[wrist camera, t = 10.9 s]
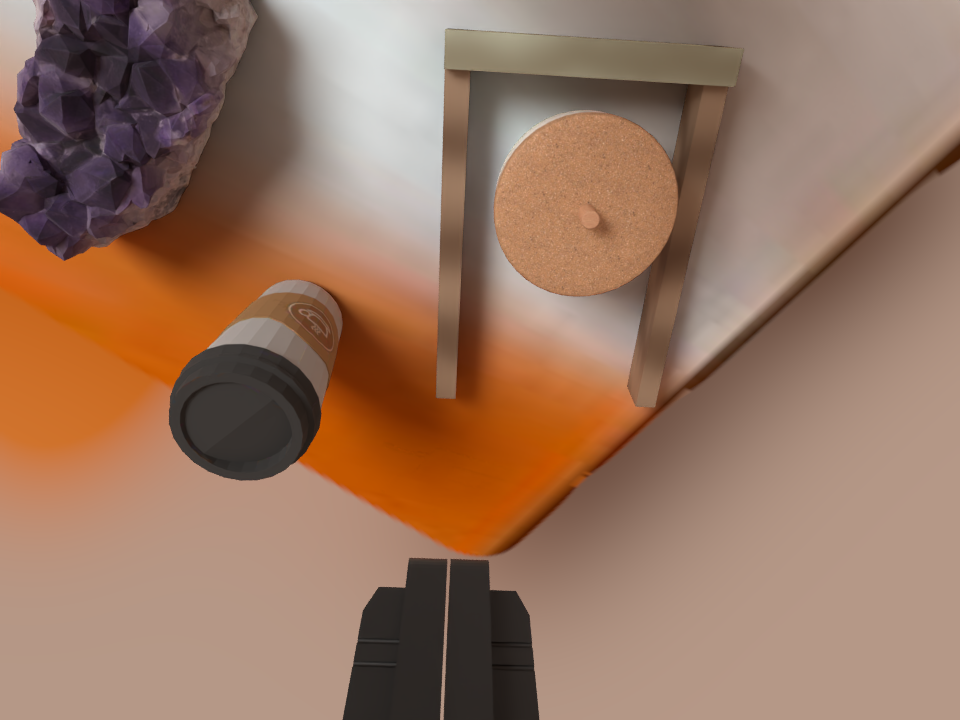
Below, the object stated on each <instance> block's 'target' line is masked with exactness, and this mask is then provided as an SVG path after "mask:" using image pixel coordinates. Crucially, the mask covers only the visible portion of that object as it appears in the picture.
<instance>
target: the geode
mask: <svg viewBox="0 0 960 720" xmlns="http://www.w3.org/2000/svg"><path fill="white" fill-rule="evenodd" d="M33 2H34V4H35V6H36V19H35V22H34V29H35V32H36V34H37V40H36V43H37V50H36V51H35V56H34V57H32V58H30V59H28V60H26V61H25V67H24V69H22V70H21V71H20V72H19V73H18V74H17V102H16V105H15V107H14V111H15V113H16V115H17V121H18V127H19V132H20V135H21V136H22V137H23V139H21V140H18V141H16V142H14V143H12V147H11V150H8V151H5V152H2V157H1V170H0V212H1V213H3V214H4V215H6V216H8V217H10V218H11V219H13V220H14V221H16V222H17V223H18V224H20V225H21V226H22V227H23V229H24V230H25V231H26V232H27V233H28V234H29V235H30V236H32V237H33V238H34V239H35V240H36V241H37V242H38V243H39V244H40V245H46V247H47V249H48V250H49V251H50V252H52V253H53V254H55V255H56V256H58V257H59V258H61V259H62V260H64V261H65V260H67V259H69V258H71V257H73V256H76V255H78V254H80V253H84V252H85V251H87V250H88V249H89V248H90V247H91V246H92V247H106V246H108V245H109V244H110V243H112V242H113V241H114V240H115V239H117V238H118V237H119V236H121V235H124V234H126V233H128V232H132V231H134V230H137V229H141V228H143V227H145V226H148V225H149V223H150V222H151V221H152V220H156V219H159V218H161V217H163V216H165V215H167V214H169V213H170V212H172V211H174V209H175V208H176V206H177V205H178V203H179V200H180V197H181V195H182V193H183V192H184V191H185V189H186V188H187V186H188V185H189V181H190V177H191V174H192V170H193V169H196V166H195V165H196V164H197V163H198V161H199V157H200V155H201V154H202V151H203V149H204V147H205V145H206V144H207V141H208V139H209V137H210V134H211V126H212V123H213V122H214V121H215V120H216V119H217V118H218V116H219V112H220V111H221V109H222V107H223V104H224V100H225V88H226V83H227V82H228V81H229V79H230V78H231V77H232V76H233V75H234V73H235V71H236V68H237V66H238V63H239V61H240V59H241V57H242V55H243V52H244V51H245V49H246V45H247V40H248V37H249V33H250V31H251V29H252V27H253V25H254V23H255V22H256V20H257V18H258V16H257V14H256V12H255V10H254V8H253V6H252V4H251V2H250V0H33Z"/></svg>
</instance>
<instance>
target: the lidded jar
mask: <svg viewBox="0 0 960 720" xmlns="http://www.w3.org/2000/svg"><path fill="white" fill-rule="evenodd" d="M677 208H678V185H677V180H676V176H675V171H674V169H673V166H672V164H671V161H670V159H669V157H668V156H667V154H666V152H665V151H664V149H663V148H662V146H661V145H660V144H659V143H658V142H657V140H656V139H655V138H654V137H653V136H652V135H651V134H649V133H648V132H647V131H645V130H644V129H643V128H642V127H640V126H639V125H637V124H635V123H633V122H631V121H629V120H627V119H625V118H622V117H619V116H616V115H613V114H608V113H605V112H601V111H593V110H578V111H569V112H565V113H560V114H557V115H555V116H552V117H549V118H547V119H545V120H543V121H542V122H540V123H538V124H537V125H535V126H534V127H532V128H531V129H530V130H529V131H527V132H526V133H525V134H524V135H523V136H522V137H521V138H520V139H519V140H518V141H517V143H516V144H515V145H514V147H513V148H512V150H511V151H510V153H509V154H508V156H507V158H506V160H505V162H504V164H503V166H502V168H501V171H500V174H499V178H498V181H497V186H496V192H495V199H494V223H495V228H496V233H497V237H498V240H499V243H500V246H501V248H502V250H503V252H504V254H505V256H506V257H507V259H508V261H509V262H510V263H511V264H512V266H513V267H514V268H515V269H516V271H517V272H519V273H520V274H521V275H522V276H523V277H524V278H525V279H526V280H528V281H530V282H531V283H533V284H534V285H536V286H537V287H540V288H542V289H544V290H547V291H549V292H552V293H556V294H560V295H566V296H591V295H597V294H602V293H605V292H608V291H611V290H614V289H616V288H618V287H620V286H622V285H624V284H626V283H628V282H630V281H631V280H633V279H634V278H636V277H637V276H639V275H640V274H641V273H642V272H643V271H644V270H645V269H647V268H648V267H649V266H650V265H651V264H652V262H653V261H654V260H655V259H656V258H657V256H658V255H659V254H660V252H661V251H662V249H663V248H664V246H665V244H666V243H667V241H668V239H669V236H670V234H671V232H672V230H673V226H674V223H675V219H676V215H677Z"/></svg>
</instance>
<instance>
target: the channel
mask: <svg viewBox="0 0 960 720" xmlns="http://www.w3.org/2000/svg"><path fill="white" fill-rule="evenodd" d="M743 51H744V49H742V48H732V47H723V46H709V45H694V44H679V43H663V42H648V41H632V40H617V39H601V38H586V37H571V36H555V35H540V34H524V33H509V32H493V31H478V30H462V29H445V60H444V69H445V84H444V121H443V158H442V195H441V231H440V268H439V305H438V342H437V378H436V398H448V399H456V377H457V355H458V333H459V311H460V289H461V267H462V245H463V222H464V200H465V178H466V156H467V134H468V112H469V90H470V70H472V71H488V72H504V73H520V74H536V75H552V76H568V77H584V78H600V79H616V80H632V81H648V82H664V83H680V84H688V87H687V92H686V97H685V102H684V107H683V112H682V117H681V122H680V126H679V131H678V136H677V141H676V146H675V151H674V156H673V161H672V166H673V169H674V171H675V176H676V180H677V185H678V208H677V215H676V219H675V223H674V226H673V230H672V232H671V234H670V236H669V239H668V241H667V243H666V244H665V246H664V248H663V249H662V251H661V252H660V254H659V255H658V256H657V258H656V259H655V260H654V261H653V262H652V266H651V271H650V276H649V281H648V286H647V291H646V296H645V301H644V306H643V311H642V316H641V321H640V326H639V331H638V336H637V341H636V346H635V351H634V356H633V361H632V365H631V370H630V375H629V380H628V385H627V387H628V389H629V392H630V394H631V397H632V399H633V401H634V404H635V406H636V407H655V404H656V400H657V396H658V391H659V387H660V383H661V378H662V374H663V370H664V365H665V361H666V357H667V352H668V348H669V344H670V339H671V335H672V331H673V326H674V322H675V318H676V313H677V309H678V305H679V300H680V296H681V291H682V287H683V283H684V278H685V274H686V270H687V265H688V261H689V257H690V252H691V248H692V244H693V239H694V235H695V231H696V226H697V222H698V218H699V213H700V209H701V205H702V200H703V196H704V192H705V187H706V183H707V179H708V174H709V170H710V166H711V161H712V157H713V152H714V148H715V144H716V139H717V135H718V131H719V126H720V122H721V118H722V113H723V109H724V105H725V100H726V96H727V92H728V87H735V86H736V81H737V77H738V73H739V68H740V64H741V60H742V56H743Z"/></svg>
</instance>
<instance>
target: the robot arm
mask: <svg viewBox="0 0 960 720" xmlns="http://www.w3.org/2000/svg"><path fill="white" fill-rule="evenodd" d="M450 565H451V566H450V586H449V606H448V627H447V650H446V675H445V698H444V720H539V711H538V701H537V691H536V681H535V671H534V660H533V649H532V638H531V628H530V616H529V614H528V612H527V610H526V608H525V606H524V605H523V603H522V601H521V599H520V598H519V596H518V594H517V592H516V591H497V590H490V585H489V583H490V582H489V562H488V560H461V559H460V560H459V559H451V564H450ZM446 577H447V559H425V558H409V563H408V572H407V580H406V587H405V588H396V587H393V588H392V587H379V588H378V589H377V590H376V592H375V594H374V595H373V597H372V598H371V599H370V601H369V602H368V604H367V605H366V607H365V609H364V610H363V614H362V619H361V624H360V629H359V635H358V643H357V645H356V651H355V656H354V664H353V667H352V672H351V678H350V683H349V689H348V694H347V699H346V705H345V710H344V715H343V720H440V708H441V707H440V706H441V686H442V665H443V644H444V622H445V600H446Z"/></svg>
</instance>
